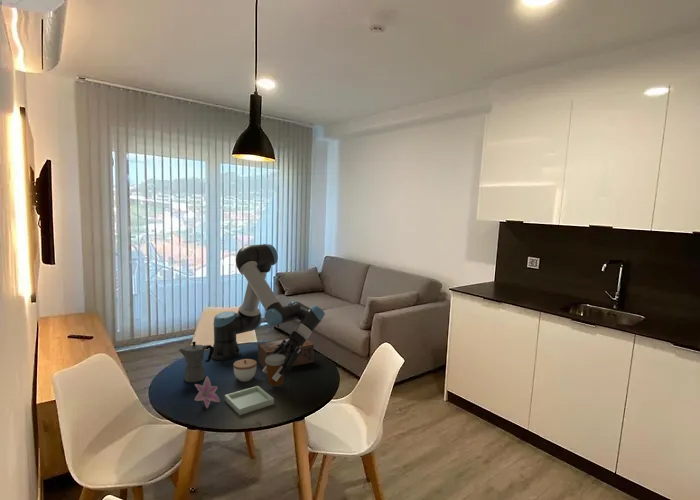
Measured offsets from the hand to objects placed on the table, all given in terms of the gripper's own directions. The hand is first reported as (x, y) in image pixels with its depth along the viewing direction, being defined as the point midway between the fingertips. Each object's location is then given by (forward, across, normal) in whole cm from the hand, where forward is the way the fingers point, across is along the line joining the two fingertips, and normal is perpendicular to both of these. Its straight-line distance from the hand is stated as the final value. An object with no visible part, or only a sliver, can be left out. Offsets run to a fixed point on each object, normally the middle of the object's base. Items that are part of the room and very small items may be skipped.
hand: (269, 376), depth 176 cm
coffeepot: (+20, +31, +10) cm, 38 cm away
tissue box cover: (-11, +24, -21) cm, 34 cm away
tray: (+13, -6, +4) cm, 15 cm away
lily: (+24, +4, +14) cm, 28 cm away
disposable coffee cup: (+1, 0, -5) cm, 5 cm away
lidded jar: (+7, +17, -2) cm, 19 cm away
